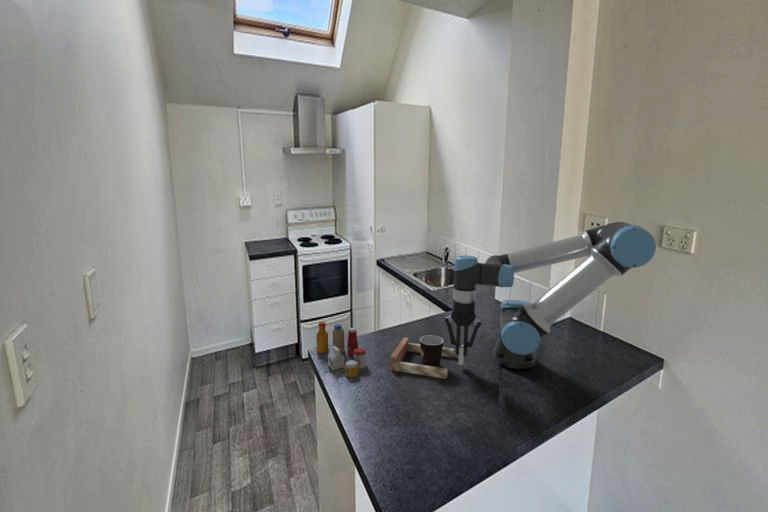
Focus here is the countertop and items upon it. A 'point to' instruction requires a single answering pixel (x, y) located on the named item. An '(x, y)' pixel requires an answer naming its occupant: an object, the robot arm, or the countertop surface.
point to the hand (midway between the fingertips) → (460, 363)
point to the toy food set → (341, 349)
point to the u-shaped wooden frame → (416, 368)
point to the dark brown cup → (431, 350)
